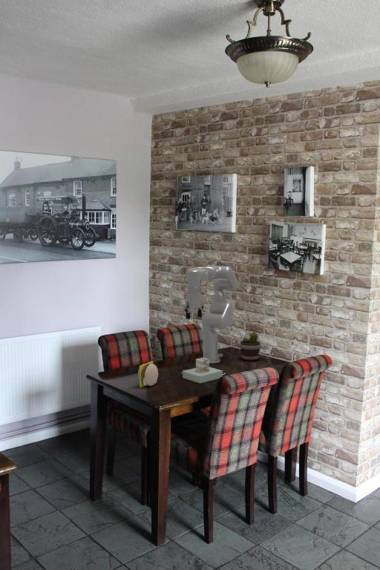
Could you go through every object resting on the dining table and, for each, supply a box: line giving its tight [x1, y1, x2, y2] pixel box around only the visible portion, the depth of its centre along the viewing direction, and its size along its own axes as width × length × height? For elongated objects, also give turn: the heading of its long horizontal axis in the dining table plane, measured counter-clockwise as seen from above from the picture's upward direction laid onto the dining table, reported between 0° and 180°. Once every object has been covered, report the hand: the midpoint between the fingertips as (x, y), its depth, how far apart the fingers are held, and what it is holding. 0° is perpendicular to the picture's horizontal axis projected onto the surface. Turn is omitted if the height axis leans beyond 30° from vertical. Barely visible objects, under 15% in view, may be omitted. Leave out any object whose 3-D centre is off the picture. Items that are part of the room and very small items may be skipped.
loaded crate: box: [195, 357, 210, 373], centre depth 328 cm, size 6×6×7 cm
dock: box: [182, 366, 224, 384], centre depth 328 cm, size 18×15×4 cm
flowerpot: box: [238, 330, 262, 362], centre depth 370 cm, size 14×15×20 cm
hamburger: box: [137, 360, 159, 388], centre depth 314 cm, size 12×8×12 cm
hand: (193, 318), depth 342 cm, fingers open, 9 cm apart
